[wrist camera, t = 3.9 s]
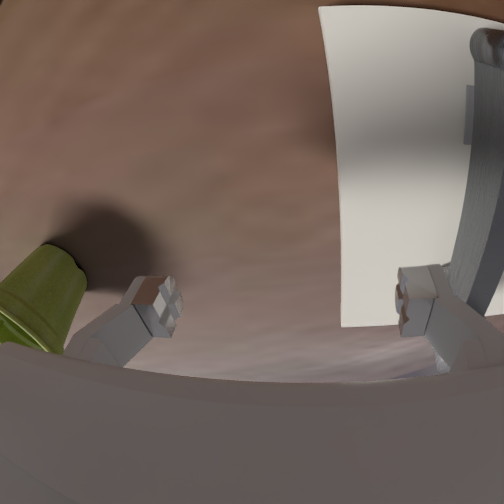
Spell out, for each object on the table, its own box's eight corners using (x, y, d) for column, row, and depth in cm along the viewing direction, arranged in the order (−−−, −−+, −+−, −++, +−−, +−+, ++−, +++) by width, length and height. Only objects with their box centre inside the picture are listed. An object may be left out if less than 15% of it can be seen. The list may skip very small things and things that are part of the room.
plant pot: (104, 316, 30) (67, 388, 23) (32, 280, 29) (-10, 341, 22) (104, 253, 24) (49, 340, 17) (19, 213, 22) (-42, 281, 16)
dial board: (318, 9, 11) (319, 6, 10) (591, 57, 7) (607, 64, 6) (340, 311, 23) (341, 328, 22) (533, 295, 19) (540, 309, 18)
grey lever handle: (462, 303, 19) (482, 373, 14) (416, 306, 19) (430, 380, 15) (505, 33, 8) (585, 55, 4) (439, 20, 9) (511, 27, 5)
